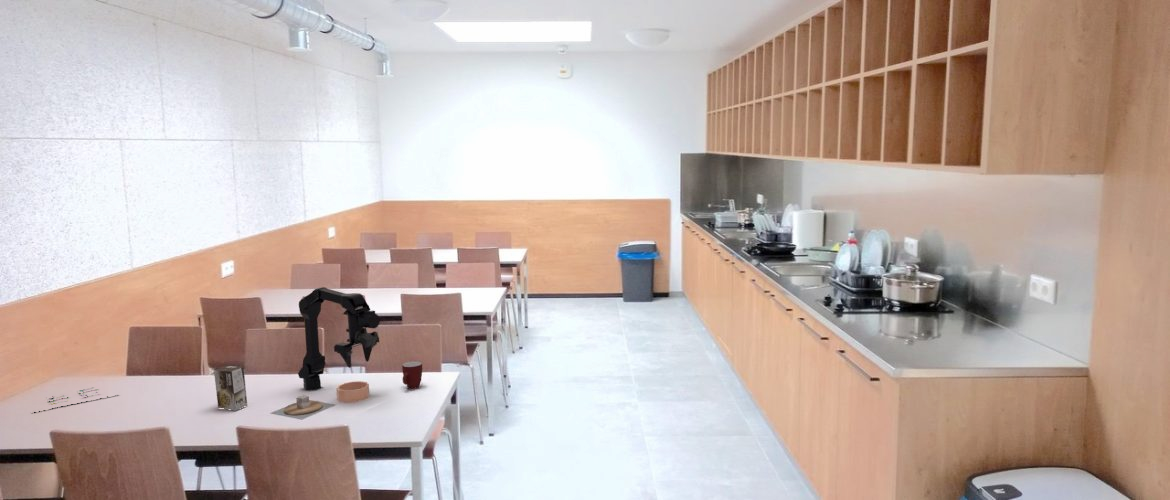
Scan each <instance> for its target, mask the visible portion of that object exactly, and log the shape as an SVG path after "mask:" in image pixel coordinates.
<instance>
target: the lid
mask: <svg viewBox="0 0 1170 500" xmlns="http://www.w3.org/2000/svg"><path fill="white" fill-rule="evenodd" d="M295 400H296V402H295V403H294V402H293V403H291V404H288V405H286V406H284V407H285V408H284V407H283V408H284V413H285V414H287V415H305V414H310V413H314V412H316V411H319V410H320V409H322V407H323V404H322V402H323V401H319V400H313V401H309V400H310V396H309V395H305V394H301V395H300V396H297V397H295Z"/></svg>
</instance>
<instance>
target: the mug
mask: <svg viewBox="0 0 1170 500" xmlns="http://www.w3.org/2000/svg"><path fill="white" fill-rule="evenodd" d="M401 369H402V384H404V385H405V386H407V387H408V389H410V390H414V389H418V388H419V387H420V385H421V382H422V377H423V362H421V361H415V360H414V361H406V362H404V363H402V366H401Z"/></svg>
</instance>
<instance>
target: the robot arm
mask: <svg viewBox="0 0 1170 500" xmlns="http://www.w3.org/2000/svg"><path fill="white" fill-rule="evenodd" d="M325 301H327V302H330V303H334V304H338V305H340V306H341V308H343V309H345V310H344V311H343V313H342V315H346V316H347V325H348V326H347V327H348V328H346V330H345V331H346V332H347V333H348V338H347V339H346V342H340V343H339V342H338V343H336V344H335V345H334V346H333V351H334V352H335V353H336V354H339V355H340V356H341V358H342V359H343V361H344V362H345V364H346V366H347V368H349V369H351V368H352V354H353V353H354V352H353V348H355V347H357V346H362V351H363V355H364V360H365V362H369V360H370V357H371V354H372V350H373V348H374V347H375V346H377V345H378V343H380V337H379V334H378V332H377V331H371V332H368V331H367V329H377V328H378V326H379V325H380V321H381V320H380V319H381V318H380V316H379V314H377V313H376V310H371V308H370V306H369V304H368V303H367V300H366V299H365V298H364V295H363V294H361V293H359V292H358V293H356V292H355V293H345V292H341V291H338V290H333V289H330V288H327V287H325V286H321V287H318V288H315V289H313V290H312V292H310V293H309V294H307V295H306V296H304V297H303V298H301V299H300V300H299V302H298V308H299V313H300V315H301V316H302V318H303V321H304V332H305V333H304V334H305V347H306V349H305V351H306V352H305V355H304V357H303V359H302V367H301V368H300V369H299V371H298V373H297V375H298V378H299V379H302V381H303V389H304V390H305V391H317V390H320V389H324V387H323V386H322V383H321V377H320V375H323V374H324V370H325V368H326V365H327V364H326V356H325V355H322V353H321V352H320V340H319V338H320V337H319V327H318V325H319V324H318V323H319V322H318V317H319V316H320V313H321V311H322V304H323V303H324V302H325Z"/></svg>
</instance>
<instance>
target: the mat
mask: <svg viewBox="0 0 1170 500" xmlns="http://www.w3.org/2000/svg"><path fill="white" fill-rule="evenodd" d="M309 401H314V400H311V399H309ZM321 402H322V404H323V407H322V409H320V410H319V411H316V412H314V413H310V414H305V415H287V414H285V413H284V408H285V407H286V406H284V407H282V408H280V409H277V410H274V411H271V412H269V414H271V415H277V416H280V417H281V416H283V417H286V418H292V419H297V420H304V419H307V418H309V417H311V416H313V415H316V414H319V413H321V412H323V411H325V410H328V409H330V408H333V407H335V406H336V404H335V403H330V402H329V403H328V402H324V401H321Z"/></svg>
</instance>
